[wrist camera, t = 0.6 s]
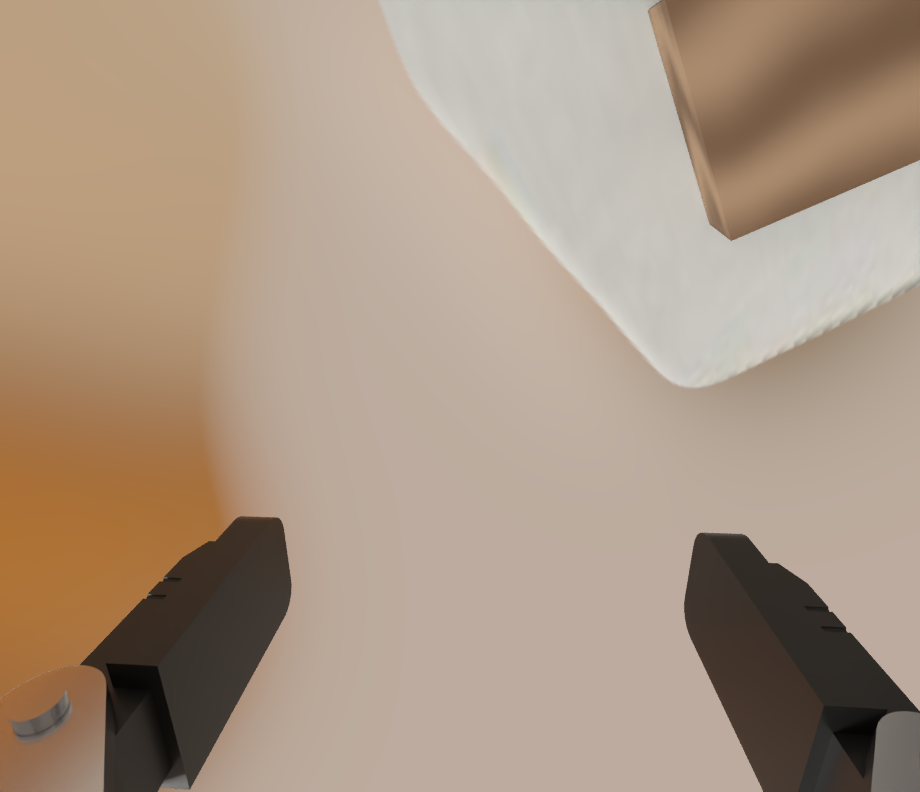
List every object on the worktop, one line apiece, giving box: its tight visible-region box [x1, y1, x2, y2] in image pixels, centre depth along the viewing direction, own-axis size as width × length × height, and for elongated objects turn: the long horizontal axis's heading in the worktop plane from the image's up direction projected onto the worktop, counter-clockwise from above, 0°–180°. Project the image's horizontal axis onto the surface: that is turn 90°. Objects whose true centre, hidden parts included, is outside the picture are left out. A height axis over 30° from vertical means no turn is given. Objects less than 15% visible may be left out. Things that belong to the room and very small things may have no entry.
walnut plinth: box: [648, 0, 920, 241], centre depth 24 cm, size 12×12×4 cm
